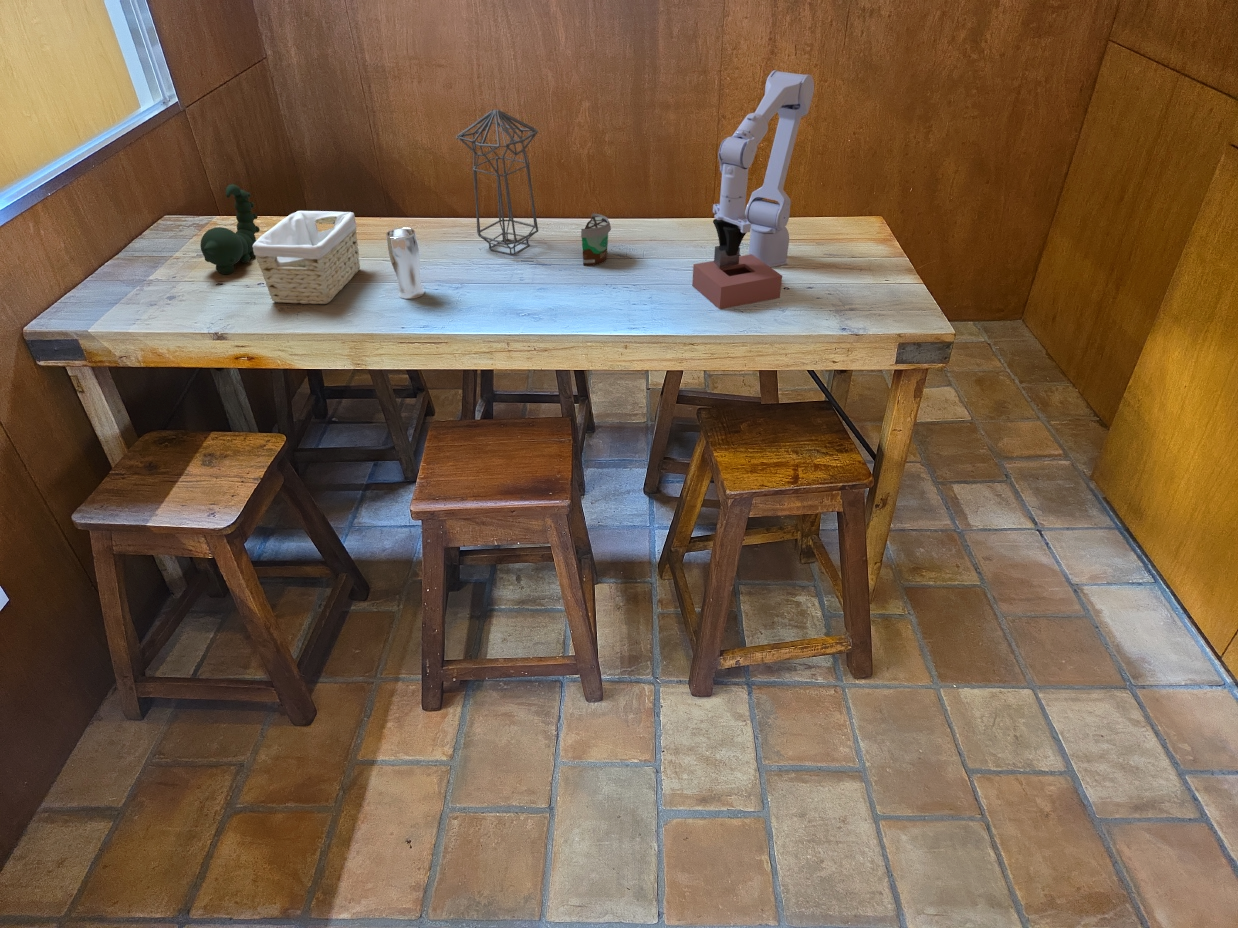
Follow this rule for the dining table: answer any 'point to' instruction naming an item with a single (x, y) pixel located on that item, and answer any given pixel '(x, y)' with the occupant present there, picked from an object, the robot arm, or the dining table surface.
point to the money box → (737, 282)
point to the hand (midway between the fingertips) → (728, 252)
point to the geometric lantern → (487, 123)
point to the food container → (595, 240)
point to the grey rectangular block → (725, 257)
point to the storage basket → (308, 256)
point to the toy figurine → (232, 236)
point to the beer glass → (405, 261)
